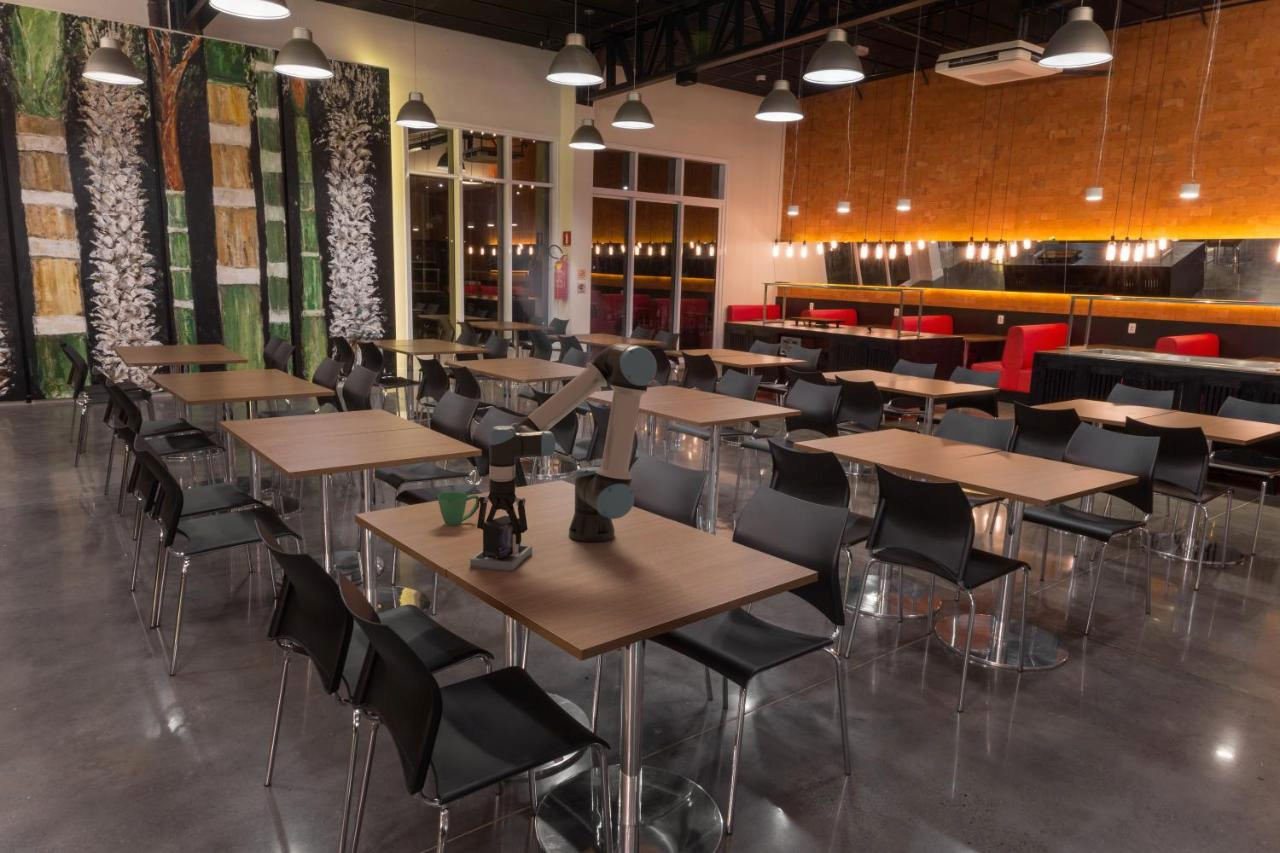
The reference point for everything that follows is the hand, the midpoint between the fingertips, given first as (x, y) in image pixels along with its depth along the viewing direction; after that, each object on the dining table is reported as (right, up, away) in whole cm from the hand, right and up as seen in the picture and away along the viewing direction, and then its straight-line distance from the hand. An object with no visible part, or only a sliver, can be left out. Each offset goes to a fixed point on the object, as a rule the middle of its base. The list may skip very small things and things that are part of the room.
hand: (502, 552), depth 252 cm
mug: (-21, +4, +37) cm, 43 cm away
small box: (0, -1, 0) cm, 1 cm away
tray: (0, -2, 0) cm, 2 cm away
